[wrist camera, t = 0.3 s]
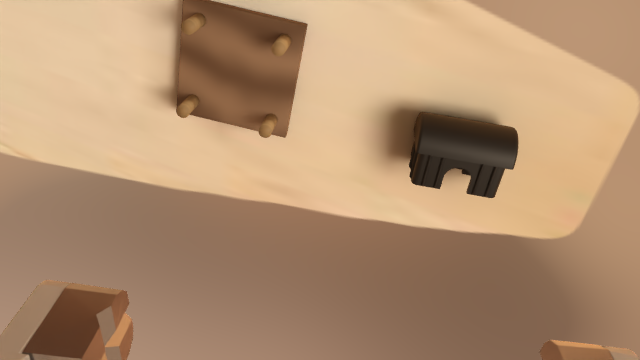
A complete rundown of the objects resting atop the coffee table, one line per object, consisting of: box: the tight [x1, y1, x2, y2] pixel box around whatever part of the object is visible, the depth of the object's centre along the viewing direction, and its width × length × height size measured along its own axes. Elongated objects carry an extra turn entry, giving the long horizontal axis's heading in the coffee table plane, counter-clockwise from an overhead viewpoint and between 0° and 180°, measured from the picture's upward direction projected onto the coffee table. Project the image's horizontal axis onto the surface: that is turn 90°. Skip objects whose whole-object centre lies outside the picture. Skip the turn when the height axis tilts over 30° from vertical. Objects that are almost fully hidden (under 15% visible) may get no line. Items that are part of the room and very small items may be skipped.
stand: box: [176, 0, 307, 138], centre depth 54 cm, size 13×13×5 cm
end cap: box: [409, 112, 518, 198], centre depth 54 cm, size 10×7×7 cm
